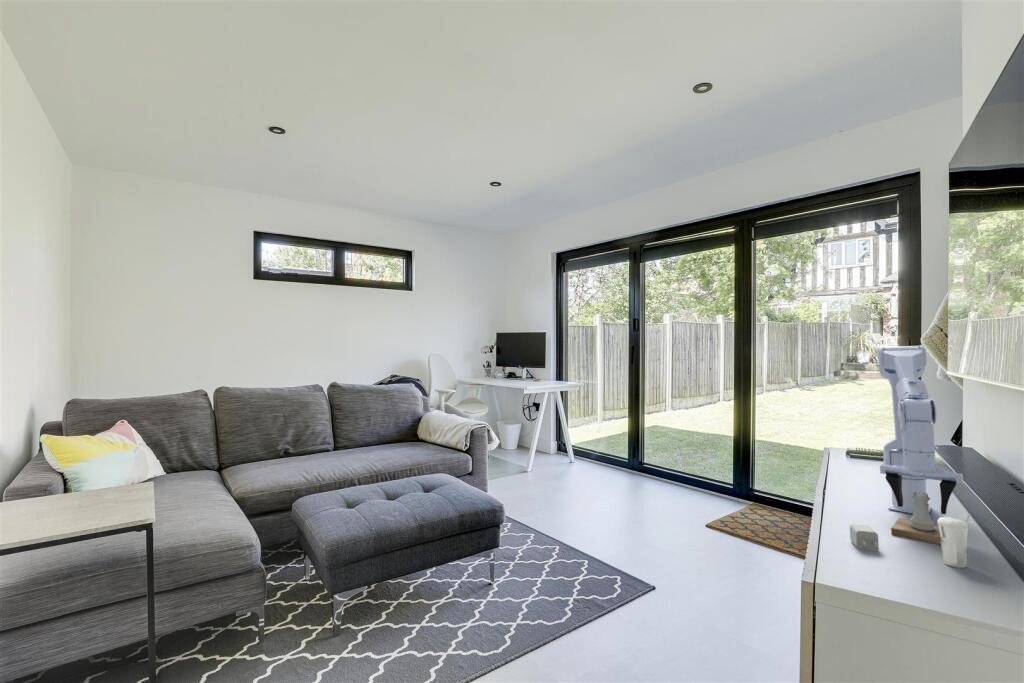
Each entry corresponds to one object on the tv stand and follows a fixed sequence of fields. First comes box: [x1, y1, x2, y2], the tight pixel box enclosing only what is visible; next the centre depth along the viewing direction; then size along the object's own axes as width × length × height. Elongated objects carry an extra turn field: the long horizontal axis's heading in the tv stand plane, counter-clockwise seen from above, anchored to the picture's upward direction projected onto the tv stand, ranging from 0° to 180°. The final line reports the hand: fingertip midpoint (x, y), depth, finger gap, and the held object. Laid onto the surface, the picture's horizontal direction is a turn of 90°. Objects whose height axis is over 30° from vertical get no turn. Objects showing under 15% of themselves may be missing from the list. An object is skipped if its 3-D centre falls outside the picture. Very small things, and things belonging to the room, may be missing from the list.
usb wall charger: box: [849, 523, 880, 552], centre depth 103 cm, size 4×7×4 cm, turn 159°
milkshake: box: [936, 513, 971, 569], centre depth 94 cm, size 4×5×10 cm
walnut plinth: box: [890, 517, 941, 545], centre depth 110 cm, size 10×10×2 cm
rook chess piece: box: [909, 492, 935, 531], centre depth 110 cm, size 4×4×8 cm
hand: (921, 509), depth 110 cm, fingers open, 7 cm apart
